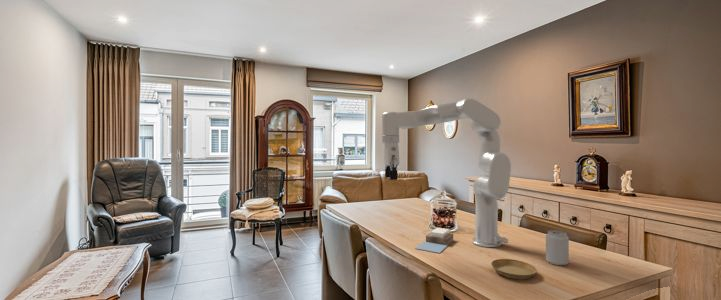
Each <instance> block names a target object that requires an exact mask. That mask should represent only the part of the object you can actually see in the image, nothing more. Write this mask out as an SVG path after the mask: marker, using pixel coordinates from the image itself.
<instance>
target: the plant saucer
mask: <svg viewBox="0 0 721 300" xmlns="http://www.w3.org/2000/svg"><path fill="white" fill-rule="evenodd" d="M490 265H491V266H492V269H493V270H494V271H496V273H498V274H499V275H500V276H503V277H504V278H508V279H512V280H528V279H529V278H532V276H534V275H535V274H536V273H537V272H538V269H537V268H536V266H534V265H532V264H531V263H528V262H525V261H521V260H517V259H512V258H499V259H494V260H492V261H491V262H490Z"/></svg>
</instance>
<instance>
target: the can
mask: <svg viewBox="0 0 721 300" xmlns="http://www.w3.org/2000/svg"><path fill="white" fill-rule="evenodd" d="M569 245H570V238H569V236H568V233H567V232H565V231H560V230H554V229H553V230H548V231H547V233H546V234H545V260H546V261H547V262H548V263H549V262H550V263H549V264H551V263H552V264H551V265H553V264H555V265H554V266H558V265H564V266H566V265H568V264H569V263H570V262H569V261H570V257H569V255H570V254H569V251H570V247H569Z"/></svg>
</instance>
